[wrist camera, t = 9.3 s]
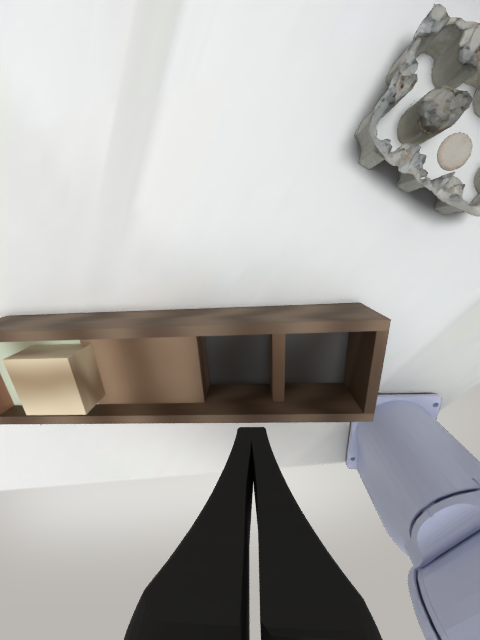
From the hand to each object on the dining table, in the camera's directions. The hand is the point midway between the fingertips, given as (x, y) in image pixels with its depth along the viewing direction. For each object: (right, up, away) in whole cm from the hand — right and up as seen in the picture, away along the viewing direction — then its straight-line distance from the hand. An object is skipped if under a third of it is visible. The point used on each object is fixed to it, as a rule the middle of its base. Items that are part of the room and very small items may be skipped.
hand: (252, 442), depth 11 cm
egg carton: (+13, +19, +4) cm, 23 cm away
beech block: (-15, +2, +8) cm, 17 cm away
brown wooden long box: (-6, +3, +10) cm, 12 cm away
